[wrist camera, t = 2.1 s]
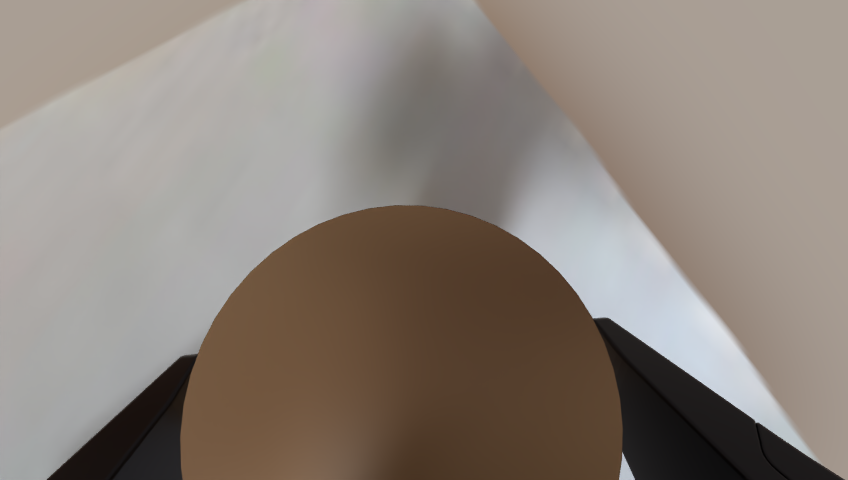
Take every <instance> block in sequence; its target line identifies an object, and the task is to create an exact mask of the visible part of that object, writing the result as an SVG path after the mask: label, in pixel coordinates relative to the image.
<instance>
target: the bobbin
mask: <svg viewBox="0 0 848 480" xmlns="http://www.w3.org/2000/svg"><path fill="white" fill-rule="evenodd" d="M622 436H623V426H622V416H621V405H620V397H619V392H618V387H617V383H616V378H615V374H614V369H613V366H612V363H611V361H610V358H609V355H608V352H607V349H606V346H605V343H604V341H603V339H602V337H601V335H600V333H599V331H598V329H597V326H596V324H595V322H594V320H593V318H592V316H591V315H590V313H589V312H588V310H587V309H586V307H585V305H584V304H583V302H582V301H581V299H580V298H579V296H578V295H577V293H576V292H575V291H574V290H573V288H572V287H571V286H570V285H569V283H568V282H567V281H566V280H565V279H564V277H563V276H562V275H561V274H560V273H559V272H558V271H557V270H556V269H555V268H554V267H553V266H552V265H551V264H550V263H549V262H548V261H547V260H546V259H545V258H544V257H542V256H541V255H540V254H539V253H538V252H536V251H535V250H534V249H532V248H531V247H530V246H528V245H527V244H525V243H524V242H523V241H521V240H520V239H519V238H517V237H515V236H513V235H512V234H510V233H508V232H506V231H504V230H503V229H501V228H499V227H497V226H495V225H493V224H490V223H488V222H486V221H483V220H481V219H478V218H476V217H473V216H470V215H467V214H463V213H459V212H455V211H452V210H448V209H442V208H434V207H427V206H403V205H394V206H386V207H377V208H369V209H365V210H361V211H357V212H353V213H349V214H344V215H341V216H339V217H336V218H334V219H331V220H328V221H326V222H323V223H321V224H318V225H316V226H314V227H312V228H311V229H309V230H307V231H305V232H303V233H301V234H299V235H297V236H296V237H294V238H292V239H291V240H290V241H288V242H287V243H285V244H284V245H282V246H281V247H280V248H278V249H277V250H275V251H274V252H272V253H271V254H270V255H269V256H268V257H267V258H266V259H264V260H263V261H262V262H261V263H260V264H259V265H258V266H257V267H256V268H255V269H253V270H252V271H251V272H250V273H249V274H248V276H247V277H246V278H245V279H244V280H243V281H242V282H241V284H240V285H239V286H238V287H237V288H236V289H235V291H234V292H233V293H232V294H231V295H230V297H229V298H228V300H227V301H226V303H225V304H224V306H223V307H222V309H221V310H220V312H219V313H218V315H217V316H216V318H215V319H214V321H213V323H212V325H211V327H210V329H209V331H208V333H207V335H206V337H205V339H204V341H203V343H202V345H201V347H200V350H199V353H198V356H197V358H196V361H195V364H194V367H193V369H192V372H191V375H190V379H189V384H188V388H187V392H186V397H185V401H184V406H183V416H182V425H181V435H180V442H181V471H182V478H183V480H619V475H620V468H621V461H622Z"/></svg>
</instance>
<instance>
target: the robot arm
mask: <svg viewBox="0 0 848 480" xmlns="http://www.w3.org/2000/svg"><path fill="white" fill-rule="evenodd" d="M593 320H594V322H595V324H596V326H597V329H598V331H599V333H600V335H601V337H602V339H603V341H604V343H605V346H606V349H607V352H608V355H609V358H610V361H611V363H612V366H613V369H614V374H615V378H616V383H617V387H618V392H619V397H620V405H621V416H622V426H623V436H622V452H623V454H624V456H625V459H626V461H627V463H628V465H629V467H630V469H631V472H632V474H633V476H634V478H635V480H844V479H843V478H841V477H839V476H838V475H836V474H835V473H833V472H832V471H830V470H829V469H827V468H825V467H824V466H822V465H821V464H819V463H817V462H816V461H814V460H813V459H811V458H810V457H808V456H806V455H805V454H803V453H802V452H801V451H799V450H798V449H796V448H795V447H793V446H792V445H790V444H789V443H787V442H786V441H784V440H783V439H781V438H780V437H778V436H777V435H775V434H774V433H773V432H771V431H770V430H768V429H767V428H765V427H764V426H763V425H761V424H760V423H755V420H754V419H752V418H751V417H749V416H748V415H747V414H745V413H744V412H742V411H741V410H739V409H738V408H737V407H735V406H734V405H732V404H731V403H729V402H728V401H727V400H725V399H724V398H722V397H721V396H719V395H718V394H717V393H715V392H714V391H712V390H711V389H709V388H708V387H707V386H705V385H704V384H702V383H701V382H699V381H698V380H697V379H695V378H694V377H692V376H691V375H689V374H688V373H687V372H685V371H684V370H682V369H681V368H679V367H678V366H677V365H675V364H674V363H672V362H671V361H669V360H668V359H667V358H665V357H664V356H662V355H661V354H659V353H658V352H656V351H655V350H654V349H652V348H651V347H649V346H648V345H646V344H645V343H644V342H642V341H641V340H639V339H638V338H636V337H635V336H634V335H632V334H631V333H629V332H628V331H626V330H625V329H624V328H622V327H621V326H619V325H618V324H616V323H615V322H614V321H612V320H611V319H609V318H593ZM197 356H198V354H193V355H184V356H182V357H180V358H179V359H178V360H176V361H175V362H174V363H173V364H172V365H171V366H170V367H169V368H168V369H167V370H166V371H164V372H163V373H162V374H161V375H160V376H159V377H158V378H157V379H156V380H155V381H154V382H152V383H151V384H150V385H149V386H148V387H147V388H146V389H145V390H144V391H143V392H142V393H140V394H139V395H138V396H137V397H136V398H135V399H134V400H133V401H132V402H131V403H130V404H129V405H127V406H126V407H125V408H124V409H123V410H122V411H121V412H120V413H119V414H118V415H117V416H115V417H114V418H113V419H112V420H111V421H110V422H109V423H108V424H107V425H106V426H105V427H103V428H102V429H101V430H100V431H99V432H98V433H97V434H96V435H95V436H94V437H93V438H91V439H90V440H89V441H88V442H87V443H86V444H85V445H84V446H83V447H82V448H81V449H79V450H78V451H77V452H76V453H75V454H74V455H73V456H72V457H71V458H70V459H69V460H67V461H66V462H65V463H64V464H63V465H62V466H61V467H60V468H59V469H58V470H57V471H55V472H54V473H53V474H52V475H51V476H50V477H49V478H48V479H47V480H183V478H182V471H181V442H180V435H181V425H182V416H183V406H184V401H185V397H186V392H187V388H188V384H189V379H190V375H191V372H192V369H193V367H194V364H195V361H196V358H197Z"/></svg>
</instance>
